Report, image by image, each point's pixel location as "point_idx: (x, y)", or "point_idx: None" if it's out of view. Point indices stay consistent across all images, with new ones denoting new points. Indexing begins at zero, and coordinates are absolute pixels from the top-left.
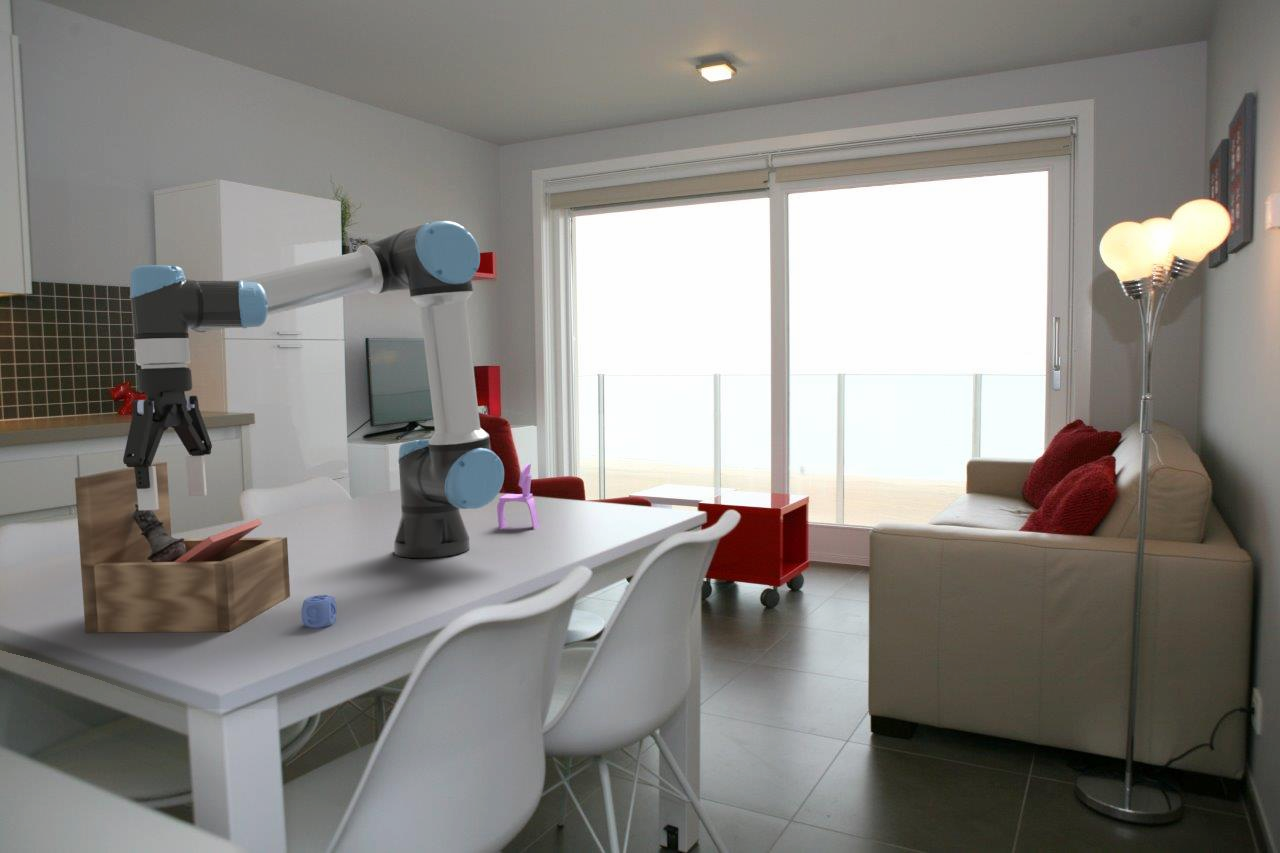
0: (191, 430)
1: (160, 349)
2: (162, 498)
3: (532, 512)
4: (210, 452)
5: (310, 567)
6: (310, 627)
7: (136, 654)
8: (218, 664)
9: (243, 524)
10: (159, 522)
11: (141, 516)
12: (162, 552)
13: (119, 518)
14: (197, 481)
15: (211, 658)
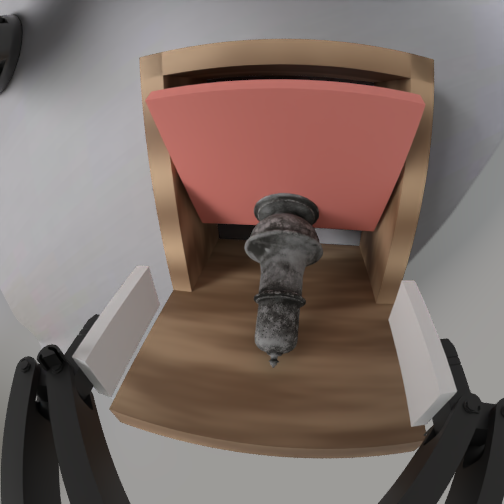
0: (85, 482)
1: None
2: (162, 351)
3: None
4: (46, 348)
5: (53, 143)
6: None
7: (467, 156)
8: (497, 54)
9: (232, 89)
10: (280, 295)
11: (296, 332)
12: (318, 241)
13: (324, 355)
14: (135, 310)
15: (483, 65)
